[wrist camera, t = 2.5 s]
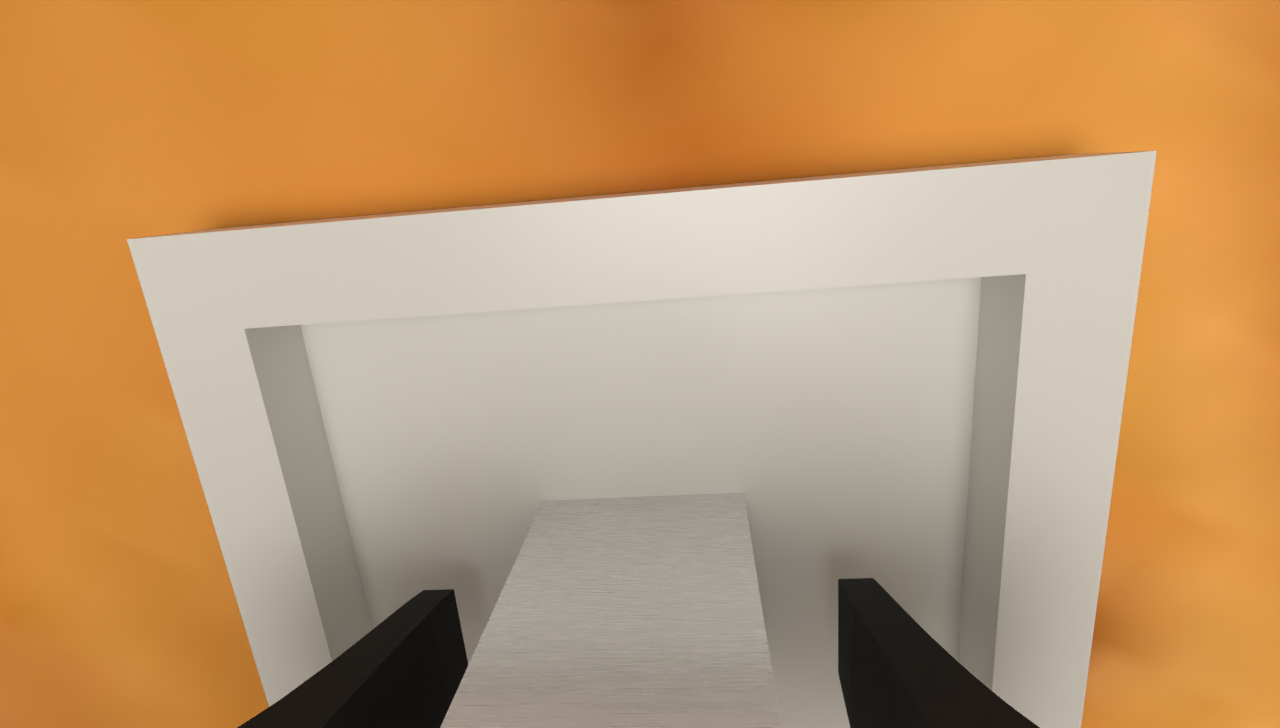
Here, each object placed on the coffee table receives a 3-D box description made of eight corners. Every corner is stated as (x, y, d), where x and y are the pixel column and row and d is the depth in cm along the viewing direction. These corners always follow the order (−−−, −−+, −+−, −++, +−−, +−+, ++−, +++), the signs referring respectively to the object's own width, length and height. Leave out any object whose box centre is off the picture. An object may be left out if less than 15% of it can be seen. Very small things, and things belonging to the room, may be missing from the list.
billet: (565, 665, 14) (474, 1023, 8) (542, 500, 13) (417, 777, 7) (751, 662, 14) (796, 1036, 8) (743, 492, 13) (790, 778, 7)
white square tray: (376, 839, 17) (335, 925, 15) (213, 228, 12) (126, 238, 11) (1007, 847, 15) (1052, 944, 13) (1075, 154, 11) (1156, 150, 9)
